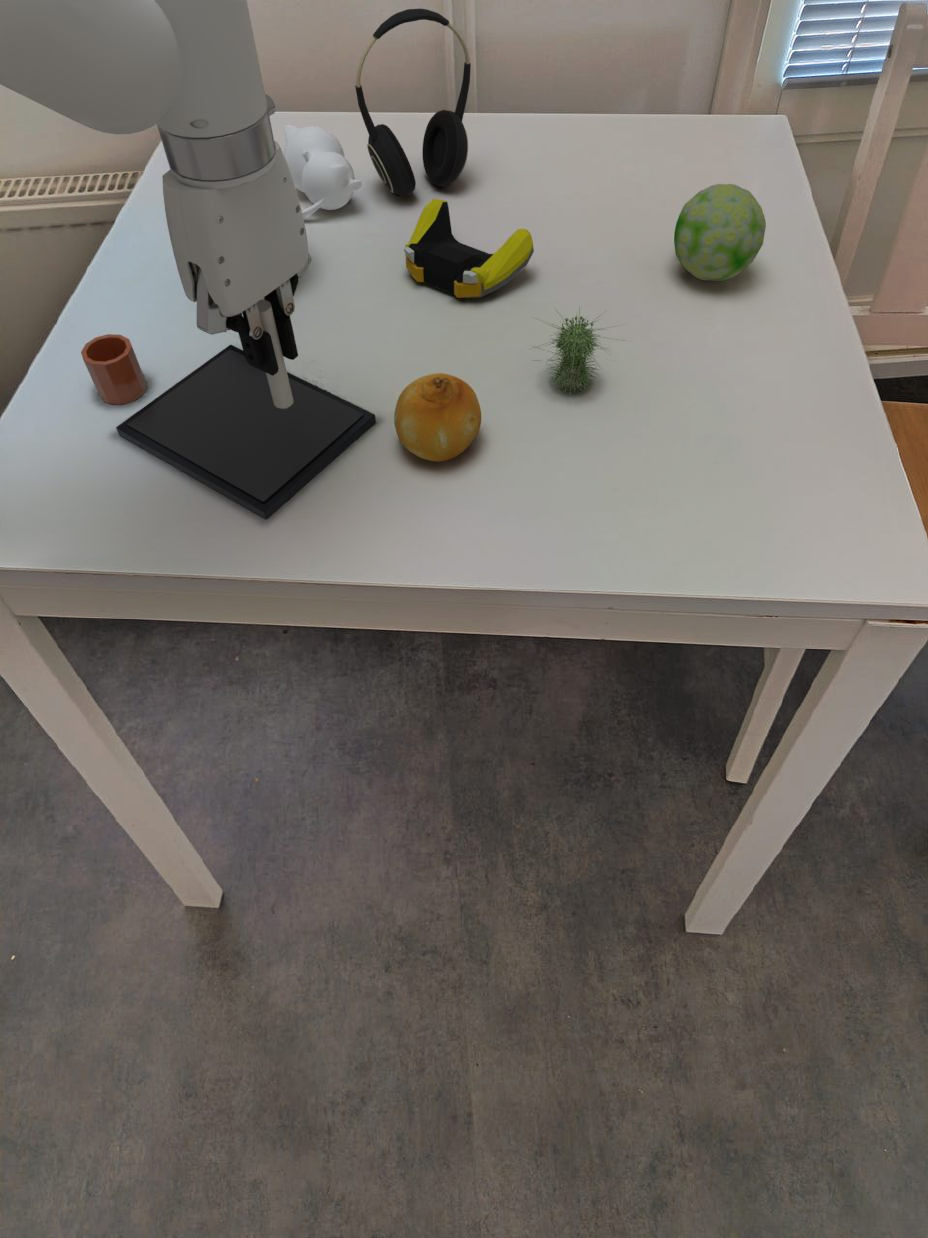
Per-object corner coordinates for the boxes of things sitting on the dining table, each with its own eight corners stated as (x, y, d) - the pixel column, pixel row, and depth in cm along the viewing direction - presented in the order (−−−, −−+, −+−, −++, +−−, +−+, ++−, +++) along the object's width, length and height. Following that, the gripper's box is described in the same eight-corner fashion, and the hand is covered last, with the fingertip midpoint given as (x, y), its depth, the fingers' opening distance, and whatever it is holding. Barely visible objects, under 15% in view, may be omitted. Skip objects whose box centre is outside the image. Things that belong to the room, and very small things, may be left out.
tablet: (266, 519, 77) (263, 510, 76) (118, 435, 84) (114, 425, 83) (376, 422, 84) (375, 412, 83) (232, 351, 91) (229, 342, 90)
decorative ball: (769, 283, 97) (796, 197, 89) (699, 308, 95) (719, 222, 87) (717, 242, 102) (737, 157, 94) (648, 264, 100) (663, 179, 92)
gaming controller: (435, 234, 104) (385, 273, 100) (433, 190, 100) (381, 228, 95) (538, 273, 99) (490, 315, 94) (541, 228, 95) (491, 270, 90)
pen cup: (121, 410, 86) (103, 370, 82) (90, 393, 88) (71, 352, 84) (156, 385, 88) (141, 344, 84) (125, 368, 90) (108, 328, 86)
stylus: (285, 417, 77) (260, 315, 68) (271, 409, 78) (244, 307, 69) (299, 406, 78) (275, 304, 69) (284, 399, 79) (259, 296, 70)
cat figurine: (339, 141, 99) (303, 97, 105) (276, 207, 102) (244, 160, 108) (381, 192, 106) (345, 149, 112) (321, 253, 109) (289, 207, 115)
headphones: (356, 185, 112) (335, 8, 95) (457, 160, 115) (454, -14, 99) (379, 216, 107) (362, 35, 91) (484, 189, 111) (486, 11, 94)
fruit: (470, 470, 77) (471, 379, 74) (385, 466, 78) (382, 377, 75) (486, 452, 84) (487, 369, 81) (407, 448, 86) (405, 367, 83)
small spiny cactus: (636, 421, 84) (649, 358, 78) (516, 424, 84) (519, 361, 78) (621, 346, 91) (632, 283, 85) (510, 348, 91) (512, 286, 85)
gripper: (258, 84, 64) (301, 301, 79) (94, 174, 56) (176, 394, 71) (334, 109, 61) (364, 328, 76) (172, 207, 54) (241, 428, 69)
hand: (273, 359), depth 73 cm, fingers closed on stylus, 1 cm apart
